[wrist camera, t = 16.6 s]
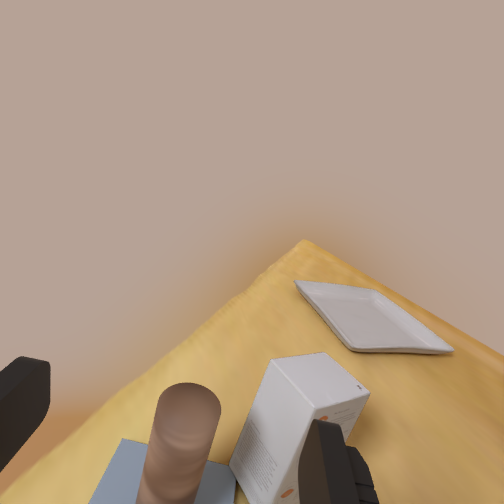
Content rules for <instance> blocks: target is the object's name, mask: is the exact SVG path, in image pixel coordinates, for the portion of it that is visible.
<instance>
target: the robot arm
mask: <svg viewBox="0 0 504 504" xmlns="http://www.w3.org/2000/svg"><path fill="white" fill-rule="evenodd" d="M49 405H50V364H49V362H47V361H43V360H38V359H33V358H28V357H24V356H23V357H22V356H21V357H18V358H16V359H15V360H14V361H13V362H11V363H10V364H9V365H8V366H7V367H5V368H4V369H3V370H2V371H0V472H1V471H2V470H3V469H4V467H5V466H6V465H7V464H8V463H9V461H10V460H11V459H12V458H13V457H14V455H15V454H16V453H17V452H18V451H19V449H20V448H21V447H22V446H23V445H24V443H25V442H26V441H27V440H28V438H29V437H30V436H31V435H32V434H33V432H34V431H35V430H36V429H37V428H38V427H39V425H40V424H41V422H42V421H43V419H44V418H45V416H46V414H47V411H48V408H49ZM298 488H299V501H300V504H379V501H378V497H377V494H376V491H375V490H374V484H373V481H372V478H371V474H370V471H369V468H368V465H367V464H366V462H365V461H364V459H363V458H362V456H361V455H360V453H359V452H358V450H357V449H356V448H355V447H350V446H346V445H345V441H344V437H343V433H342V429H341V427H340V425H339V424H337V423H332V422H327V421H322V420H318V419H313V421H312V423H311V425H310V428H309V431H308V434H307V437H306V440H305V443H304V446H303V449H302V451H301V454H300V458H299V464H298Z"/></svg>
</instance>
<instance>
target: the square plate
mask: <svg viewBox="0 0 504 504" xmlns="http://www.w3.org/2000/svg"><path fill="white" fill-rule="evenodd" d="M294 283H295V285H296V287H297V289H298V290H299V292H300V293H301V294H302V296H303V297H304V298H305V299H306V300H307V301H308V302H309V303H310V304H311V306H312V307H313V308H314V309H315V310H316V311H317V313H318V314H319V315H320V316H321V317H322V318H323V320H324V321H325V322H326V323H327V325H328V326H329V327H330V328H331V330H332V331H333V332H334V333H335V334H336V336H337V337H338V338H339V339H340V340H341V341H342V342H343V343H344V345H345V346H346V347H347V348H348V349H350V350H352V351H357V352H403V353H420V354H445V353H449V352H453V351H454V348H452V347H451V346H450V345H449V344H447V343H446V342H445V341H443V340H442V339H441V338H440V337H438V336H437V335H436V334H435V333H433V332H432V331H431V330H430V329H428V328H427V327H426V326H424V325H423V324H422V323H421V322H419V321H418V320H417V319H415V318H414V317H413V316H411V315H410V314H409V313H407V312H406V311H405V310H403V309H402V308H400V307H399V306H398V305H396V304H395V303H393V302H392V301H391V300H389V299H388V298H386V297H385V296H383V295H382V294H381V293H379V292H378V291H376V290H373V289H367V288H361V287H354V286H348V285H340V284H332V283H323V282H312V281H301V280H294Z"/></svg>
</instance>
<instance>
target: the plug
mask: <svg viewBox="0 0 504 504" xmlns="http://www.w3.org/2000/svg"><path fill="white" fill-rule="evenodd" d="M220 415H221V405H220V402H219V400H218V398H217V397H216V395H215V394H214V393H213V392H212V391H211V390H209V389H208V388H206V387H204V386H202V385H199V384H195V383H179V384H175V385H173V386H170V387H169V388H167V389H166V390H165V391H164V392H163V393H162V394H161V395H160V397H159V400H158V404H157V408H156V413H155V417H154V422H153V426H152V431H151V435H150V440H149V444H148V449H147V453H146V458H145V462H144V467H143V471H142V476H141V480H140V485H139V489H138V494H137V498H136V503H135V504H194V502H195V498H196V495H197V492H198V488H199V485H200V482H201V478H202V475H203V472H204V468H205V465H206V462H207V458H208V455H209V452H210V448H211V445H212V442H213V438H214V435H215V432H216V428H217V425H218V422H219V418H220Z"/></svg>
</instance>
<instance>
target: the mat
mask: <svg viewBox="0 0 504 504" xmlns="http://www.w3.org/2000/svg"><path fill="white" fill-rule="evenodd" d="M147 449H148V445H146V444H142V443H139V442H135V441H131V440H127V439H123V438H122V440H121V442H120V444H119V446H118V448H117V450H116V452H115V454H114V456H113V457H112V459H111V461H110V463H109V465H108V467H107V469H106V471H105V473H104V475H103V477H102V479H101V480H100V482H99V484H98V486H97V488H96V490H95V492H94V494H93V496H92V498H91V500H90V502H89V503H88V504H135V503H136V498H137V494H138V489H139V485H140V480H141V476H142V471H143V467H144V462H145V458H146V453H147ZM235 485H236V477H235V476H234V474H233V472H232V470H231V468H230V467H229V466H227V465H224V464H220V463H216V462H212V461H208V460H207V462H206V465H205V468H204V472H203V475H202V478H201V482H200V485H199V488H198V492H197V495H196V498H195V502H194V504H234V494H235Z"/></svg>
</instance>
